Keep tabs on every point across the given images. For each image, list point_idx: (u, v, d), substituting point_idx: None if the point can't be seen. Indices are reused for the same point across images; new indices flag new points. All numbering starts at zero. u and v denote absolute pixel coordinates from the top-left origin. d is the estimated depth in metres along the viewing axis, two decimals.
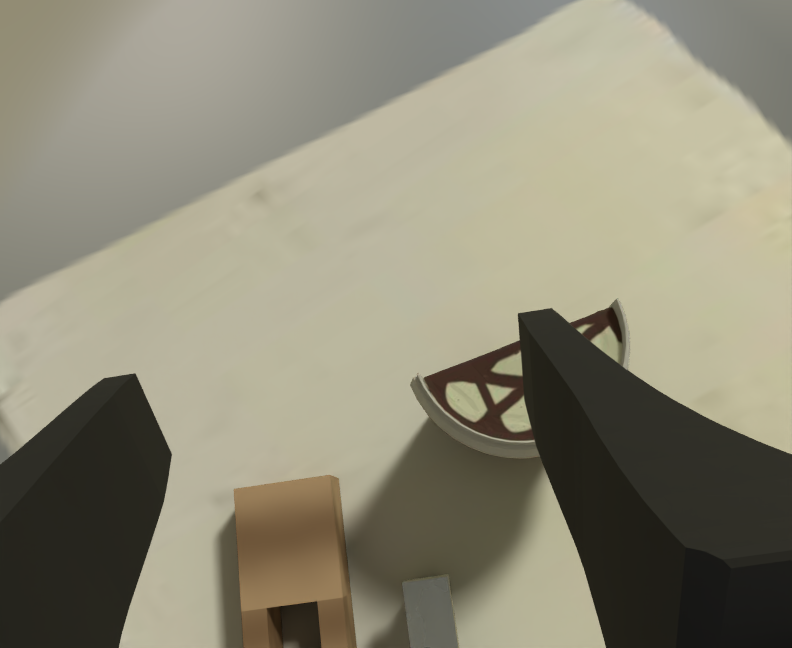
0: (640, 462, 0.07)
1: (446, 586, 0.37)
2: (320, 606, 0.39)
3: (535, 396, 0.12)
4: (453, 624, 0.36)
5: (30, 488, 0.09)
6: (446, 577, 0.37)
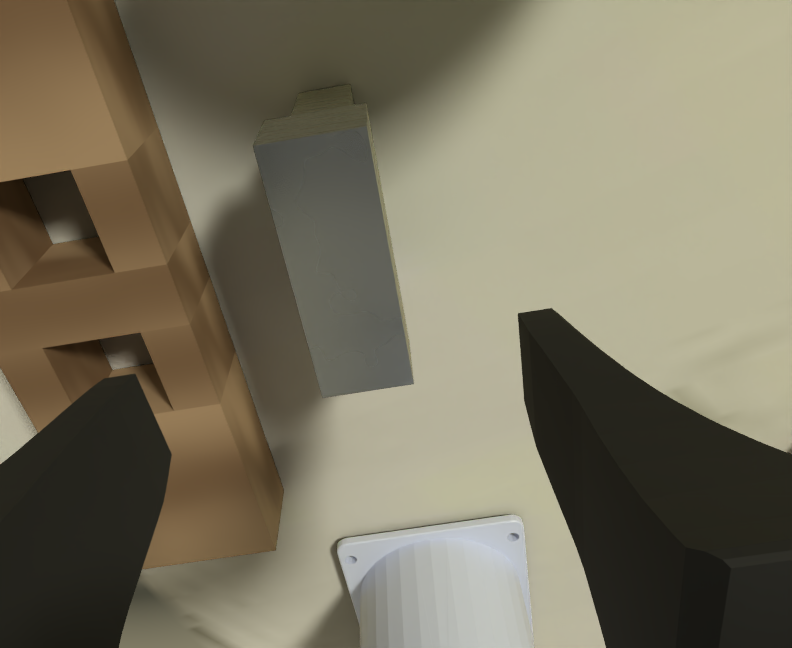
0: (640, 462, 0.07)
1: (364, 149, 0.15)
2: (81, 180, 0.17)
3: (535, 396, 0.12)
4: (382, 228, 0.16)
5: (30, 488, 0.09)
6: (363, 127, 0.15)
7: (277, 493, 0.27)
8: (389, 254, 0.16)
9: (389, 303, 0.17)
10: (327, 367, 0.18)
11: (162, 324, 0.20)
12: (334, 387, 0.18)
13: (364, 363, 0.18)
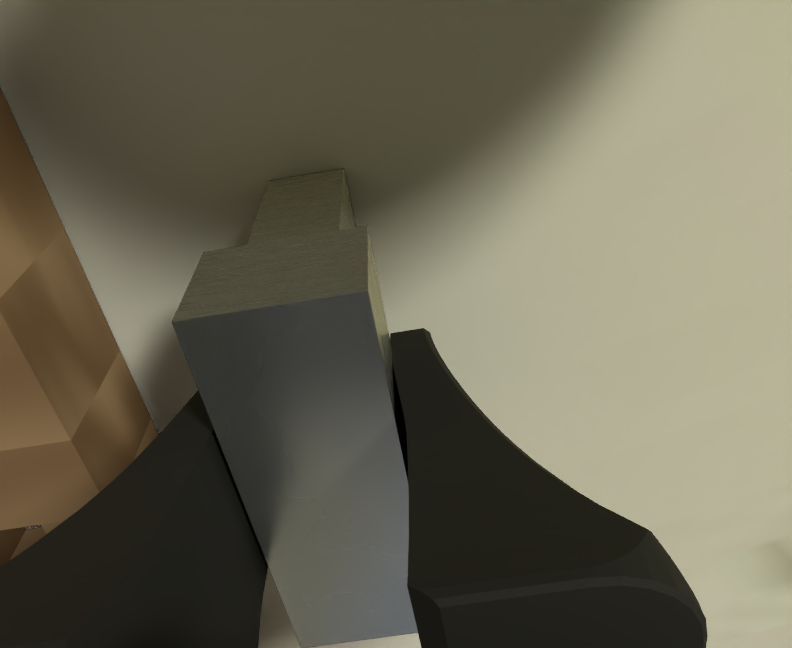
0: (430, 492, 0.07)
1: (363, 325, 0.09)
2: None
3: None
4: (393, 435, 0.10)
5: (195, 463, 0.09)
6: (362, 291, 0.08)
7: None
8: (404, 469, 0.10)
9: (402, 534, 0.11)
10: (308, 613, 0.12)
11: (71, 514, 0.14)
12: (318, 635, 0.12)
13: (364, 607, 0.12)
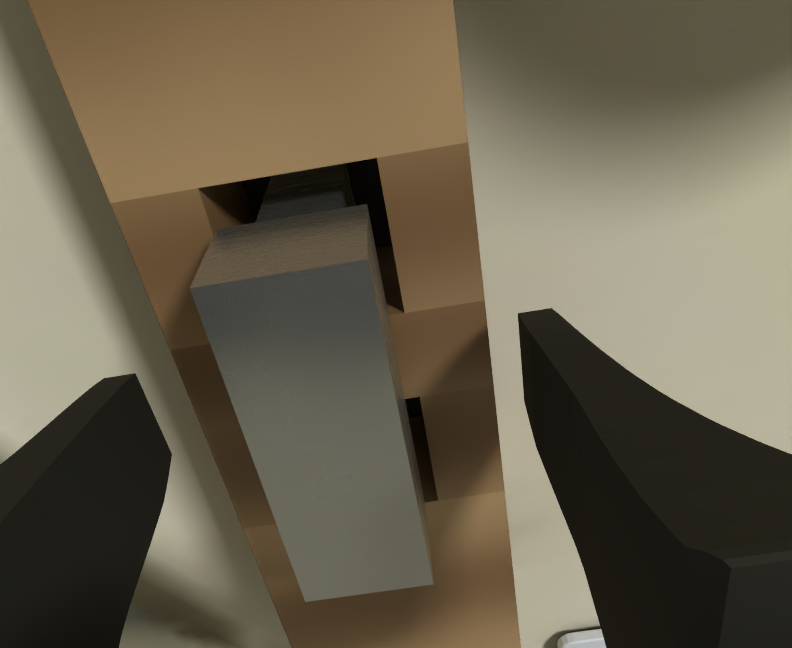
0: (640, 462, 0.07)
1: (364, 291, 0.10)
2: (389, 174, 0.11)
3: (535, 396, 0.12)
4: (391, 396, 0.11)
5: (30, 488, 0.09)
6: (363, 260, 0.09)
7: None
8: (401, 428, 0.11)
9: (400, 490, 0.12)
10: (312, 567, 0.13)
11: (453, 385, 0.14)
12: (321, 589, 0.13)
13: (364, 561, 0.13)
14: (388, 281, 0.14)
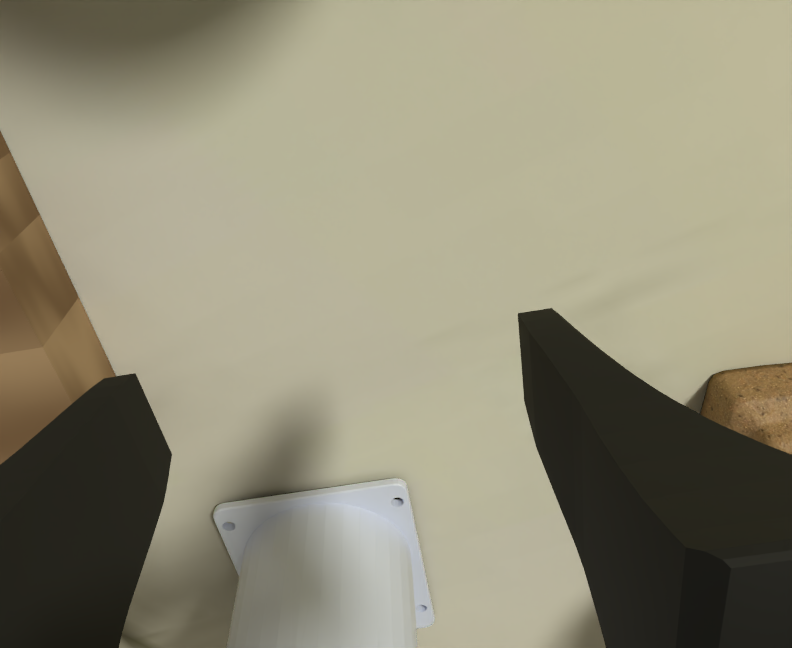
0: (640, 462, 0.07)
1: None
2: None
3: (535, 396, 0.12)
4: None
5: (30, 488, 0.09)
6: None
7: None
8: None
9: None
10: None
11: None
12: None
13: None
14: None
